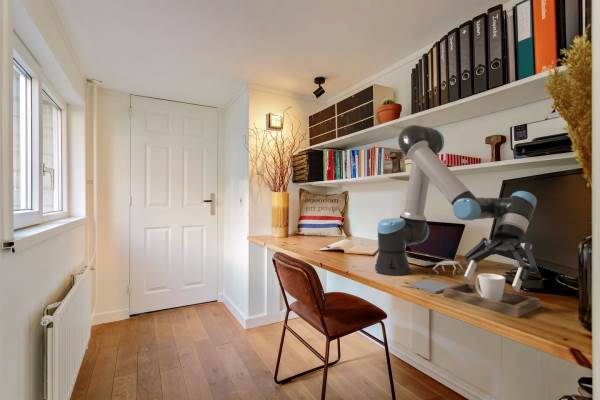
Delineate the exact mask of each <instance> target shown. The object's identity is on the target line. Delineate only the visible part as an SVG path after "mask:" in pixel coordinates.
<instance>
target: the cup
mask: <svg viewBox="0 0 600 400" xmlns="http://www.w3.org/2000/svg"><path fill="white" fill-rule="evenodd" d="M474 281H475V282H474V284H475V286H476V289H477V291H478V293H479V294H478V293H477V294H478V295H479V296H480V297H484V298H488V299H491V300H495V301H499V302H502V301H503V300H502V296H503V292H504V291H505V284H506V277H505V276H503V275H501V274H496V273H480V274H477V276H476V277H475V280H474ZM478 285H480V288H481V291H480V289H479V287H478ZM481 292H482V293H481Z"/></svg>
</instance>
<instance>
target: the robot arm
mask: <svg viewBox="0 0 600 400" xmlns="http://www.w3.org/2000/svg"><path fill="white" fill-rule="evenodd" d="M397 142H398V147H399V149H400V151H401V152H402V153H403V154H404V156H405V157H406V158H407V159H408V160H411V165H410V171H409V178H408V184H407V190H406V191H407V192H406V197H405V203H404V204H405V205H404V210H403V212H402V213H400V215H399V217H391V218H383V219H381V220H379V221H378V224H377V245H378V246H377V248H378V249H377V250H378V254H377V258H376V262H375V264H374V271H375V270H376V271H377V272H376V271H375V272H376V273H378V272H380V273H379V274H381V273H383V274H382V275H386V274H389V275H388V276H403V275H405V276H407V275H408V274H411V271H412V270H411V269H412V268H411V265H410V263H409V260H408V257H407V252H406V250H407V249H406V248H407V246H412V245H419V244H421V243H423V242H425V241H426V240H427V239H428V237H429V235H430V227H429V225H428V223H427V217H426V216H425V209H426V208H425V207H426V202H427V196H428V188H429V184H430V181H431V182H432V184H433V185H434V186H435V187H436V188H437V189H438V191H439V192H440V193H441V194H442V195H443V196H444V198H446V200H447V201H448V202H449V203H450V204H451V205H452V211H453V214H454V216H455V217H456V218H457V219H459V220H461V221H474V220H482V219H500V221H499V223H498V226H497V228H496V230H495V232H494V237H493V238H492V239H487V237H482V239H481V240H480V242H479V243H477V244H476V245H475V246H474V247H472V248H471V249H470V250H469V251H467V252H466V253H465V254H464V255H463V257H464V259H465V260H466V262H467V263H466V265H465V269H466V270H465V272H464V278H465V279H466V282H471V280H472V278H473V276H474V273H475V270H476V268H477V266H478V265H477V263H479V262H481V261H483V260H484V259H486V258H488V257H490V256H492V255H493V256H494V255H496V254H498V255H505V256H509V255H512V256H513V257H514V259H515V260H516V261H517V262H518V264H519V265H520V266H521V267H519V266H518V267H517V268H518V269H517V272H516V274H515V276H514V279H513V282H512V285H511V287H512V288H513V290H514V292H515V293H516V292H517V293H518V292H520V289H521V286H522V283H523V282H526V281H527V280H528V277H529V274H530V273H536V274H537V273H539V271H540V270H539V268H538V266H537V263H536V260H535V257H534V254H533V249H534V248H533V245H532V243H531V242H530V241H528V240H527V241H526V240H525V242H523V240H524V237H525V234H526V233H527V229H528V227H529V225H530V221H531V219H532V217H533V214H534V212H535V211H536V206H537V201H538V200H537V197H536V196H535V195H534V194H532V193H531V192H529V191H525V190H517V191H515V192H513V193H512V194H511V195H510V196H509V197H476V196H475V195H474V194H473V192H471V191H470V190H469V188H468V187H467V186H466V185H465V184H464V183H463V181H461V180H460V179H459V178H458V177H457V176H456V174H454V173H453V171H452V170H451V169H450V168H449V167H448V166H447V165H446V164H445V163H444V162H443V161H442V160H441V158H439V156H438V154H440V152H441V151H442V150H444V149H443V148H444V146H445V138H444V135H443V133H442V132H441V131H439V130H438V129H435V128H433V127H427V126H423V125H416V124H412V125H409V126H406V127H405V128H403V129H402V130H401V132H399V135H398V140H397ZM521 248H522V249H523V250H524V251H525V254H526V257H527V259H528V262H529V265H528V264H527V263H526V262H525V261H524V259H523V258H522V256H521V255H520V254H519V252H518V250H520V249H521Z"/></svg>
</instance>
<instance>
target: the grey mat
mask: <svg viewBox="0 0 600 400" xmlns="http://www.w3.org/2000/svg"><path fill="white" fill-rule="evenodd" d="M407 285H410V286H413V287H416V288H415V289H417V288H419V289H418V290H420V289H422V290H421V291H424V290H426V291H425V292H427V291H429V292H428V293H431V292H432V293H431V294H434V293H437V294H440V293H444V290H443V289H444V288H447V287H451V286H454V285H453V284H449V283H444V282H440V281H436V280H432V279H428V278H427V279H422V280H418V281H414V282H410V283H408V284H407ZM410 286H409V287H410ZM413 287H412V288H413Z"/></svg>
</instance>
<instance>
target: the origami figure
mask: <svg viewBox="0 0 600 400" xmlns="http://www.w3.org/2000/svg"><path fill="white" fill-rule="evenodd" d="M456 265H458V266H459V268H460V269H459V270H457V267H456ZM439 266H441V268H442V272H445V271H446V270H445V267H444V266H453V268H454V269H453V271H452V275H453V276H455V271H456V270H457V273H458V274H461V271H463V270H464V268H463V267H462V265H461V263H460V261H455V260H454V261H453V260H442V261H439V262H436V265H435V266H434V267H433V268H432V270H433V271H435V272H436V275H437V274H439V273H440V272H439V271H438V270H436V268H438V267H439Z"/></svg>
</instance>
